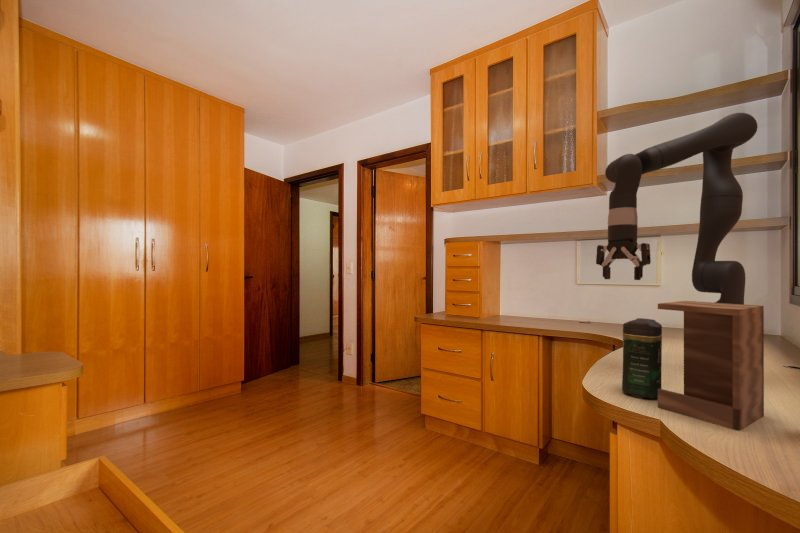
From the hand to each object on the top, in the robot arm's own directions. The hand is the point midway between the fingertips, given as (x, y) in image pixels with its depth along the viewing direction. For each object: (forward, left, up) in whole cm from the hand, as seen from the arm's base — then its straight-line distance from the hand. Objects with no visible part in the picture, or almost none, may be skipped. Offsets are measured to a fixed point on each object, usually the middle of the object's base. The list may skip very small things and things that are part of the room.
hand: (621, 279), depth 109 cm
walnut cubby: (+13, +25, -28) cm, 40 cm away
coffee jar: (+13, +12, -28) cm, 33 cm away
